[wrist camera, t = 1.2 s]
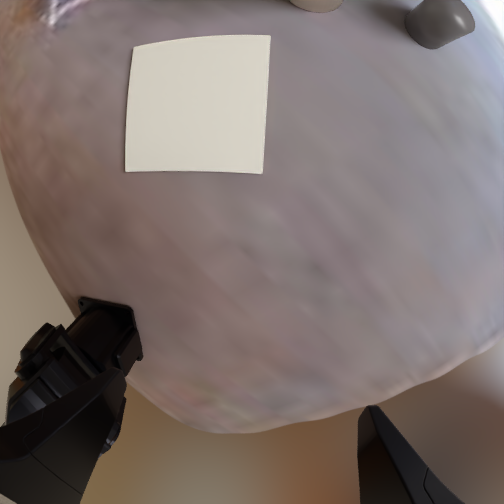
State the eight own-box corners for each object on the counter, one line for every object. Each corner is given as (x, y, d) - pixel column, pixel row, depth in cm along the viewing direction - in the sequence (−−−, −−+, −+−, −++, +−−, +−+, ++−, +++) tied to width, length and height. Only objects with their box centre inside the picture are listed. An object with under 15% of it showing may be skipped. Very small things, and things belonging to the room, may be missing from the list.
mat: (128, 171, 18) (125, 171, 18) (136, 48, 15) (133, 47, 14) (262, 173, 18) (262, 173, 17) (270, 37, 14) (270, 35, 14)
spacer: (406, 40, 13) (437, 19, 8) (402, 7, 11) (428, -18, 7) (443, 55, 13) (478, 41, 8) (438, 22, 11) (469, 3, 7)
